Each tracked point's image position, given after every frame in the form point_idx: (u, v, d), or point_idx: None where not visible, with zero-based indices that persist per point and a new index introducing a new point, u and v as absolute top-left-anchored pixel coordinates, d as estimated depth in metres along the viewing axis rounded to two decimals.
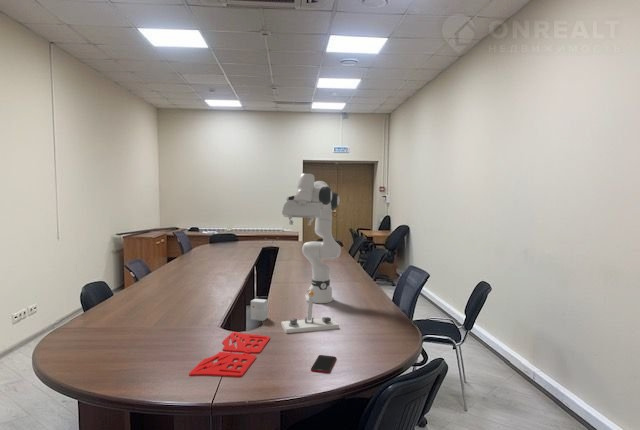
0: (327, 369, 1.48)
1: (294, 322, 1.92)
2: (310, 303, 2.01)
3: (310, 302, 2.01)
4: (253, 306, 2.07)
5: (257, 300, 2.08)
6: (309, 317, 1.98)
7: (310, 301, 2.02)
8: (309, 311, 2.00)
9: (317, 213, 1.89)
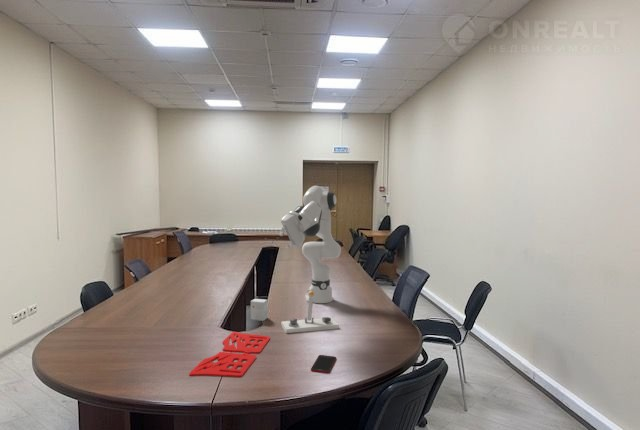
0: (327, 369, 1.48)
1: (294, 322, 1.92)
2: (310, 303, 2.01)
3: (310, 302, 2.01)
4: (253, 306, 2.07)
5: (257, 300, 2.08)
6: (309, 317, 1.98)
7: (310, 301, 2.02)
8: (309, 311, 2.00)
9: (298, 245, 2.02)
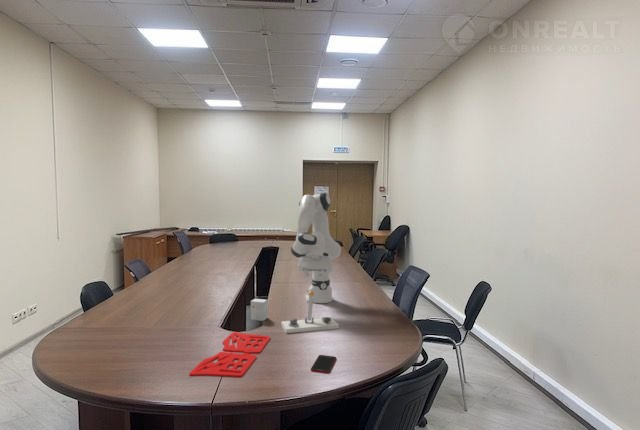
0: (327, 369, 1.48)
1: (294, 322, 1.92)
2: (310, 303, 2.01)
3: (310, 302, 2.01)
4: (253, 306, 2.07)
5: (257, 300, 2.08)
6: (309, 317, 1.98)
7: (310, 301, 2.02)
8: (309, 311, 2.00)
9: None
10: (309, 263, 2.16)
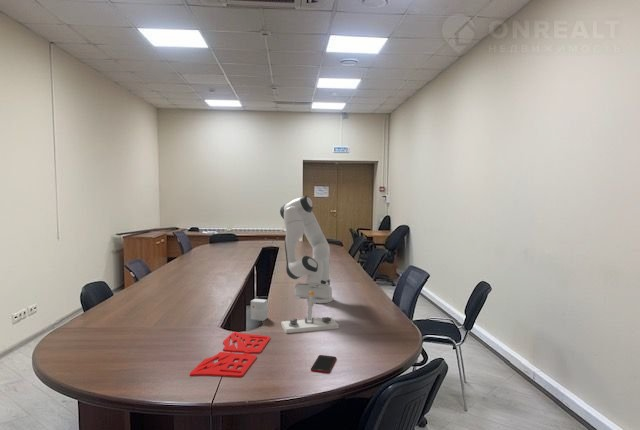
0: (327, 369, 1.48)
1: (294, 322, 1.92)
2: (310, 303, 2.01)
3: (310, 302, 2.01)
4: (253, 306, 2.07)
5: (257, 300, 2.08)
6: (309, 317, 1.98)
7: (310, 301, 2.02)
8: (309, 311, 2.00)
9: None
10: (306, 291, 2.11)
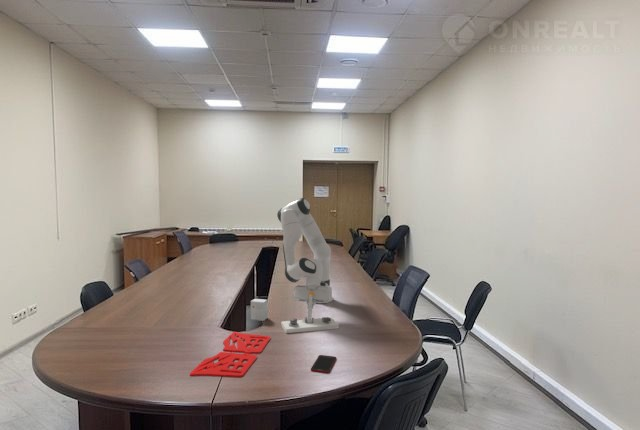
0: (327, 369, 1.48)
1: (294, 322, 1.92)
2: (310, 303, 2.01)
3: (310, 302, 2.01)
4: (253, 306, 2.07)
5: (257, 300, 2.08)
6: (309, 317, 1.98)
7: (310, 301, 2.01)
8: (309, 311, 2.00)
9: None
10: (305, 293, 2.07)
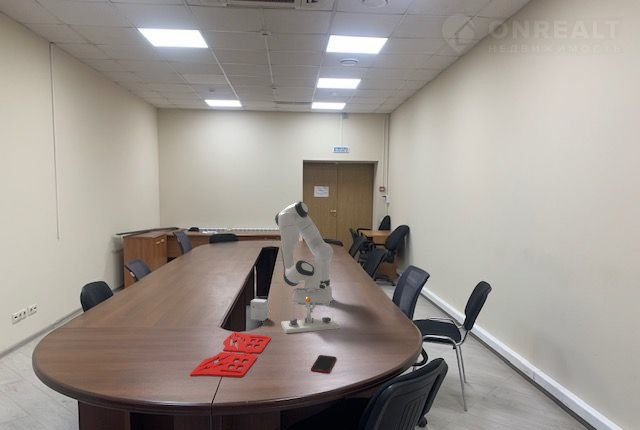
0: (327, 369, 1.48)
1: (294, 322, 1.92)
2: (308, 308, 1.94)
3: (308, 308, 1.94)
4: (253, 306, 2.07)
5: (257, 300, 2.08)
6: (309, 319, 1.97)
7: (308, 307, 1.93)
8: (308, 315, 1.96)
9: None
10: (304, 296, 2.02)
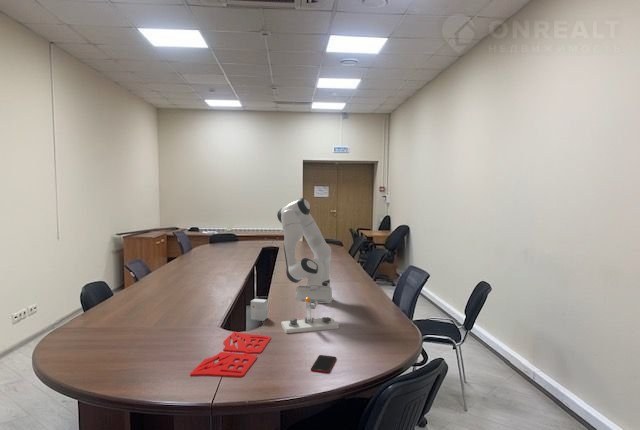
0: (327, 369, 1.48)
1: (294, 322, 1.92)
2: (308, 309, 1.94)
3: (308, 308, 1.94)
4: (253, 306, 2.07)
5: (257, 300, 2.08)
6: (309, 319, 1.97)
7: (308, 307, 1.93)
8: (308, 315, 1.96)
9: None
10: (307, 294, 2.07)
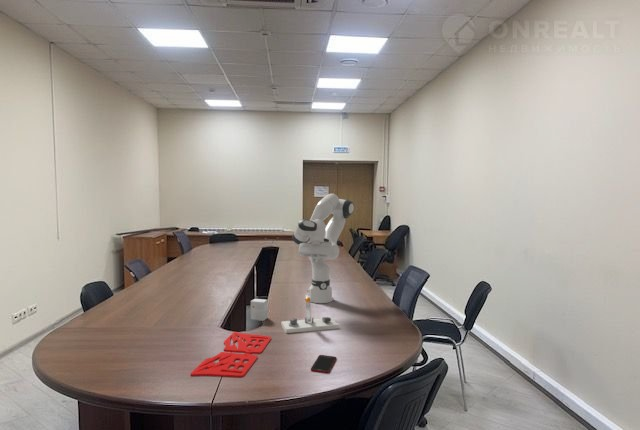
0: (327, 369, 1.48)
1: (294, 322, 1.92)
2: (308, 309, 1.94)
3: (308, 308, 1.94)
4: (253, 306, 2.07)
5: (257, 300, 2.08)
6: (309, 319, 1.97)
7: (308, 307, 1.93)
8: (308, 315, 1.96)
9: None
10: (310, 249, 2.18)
